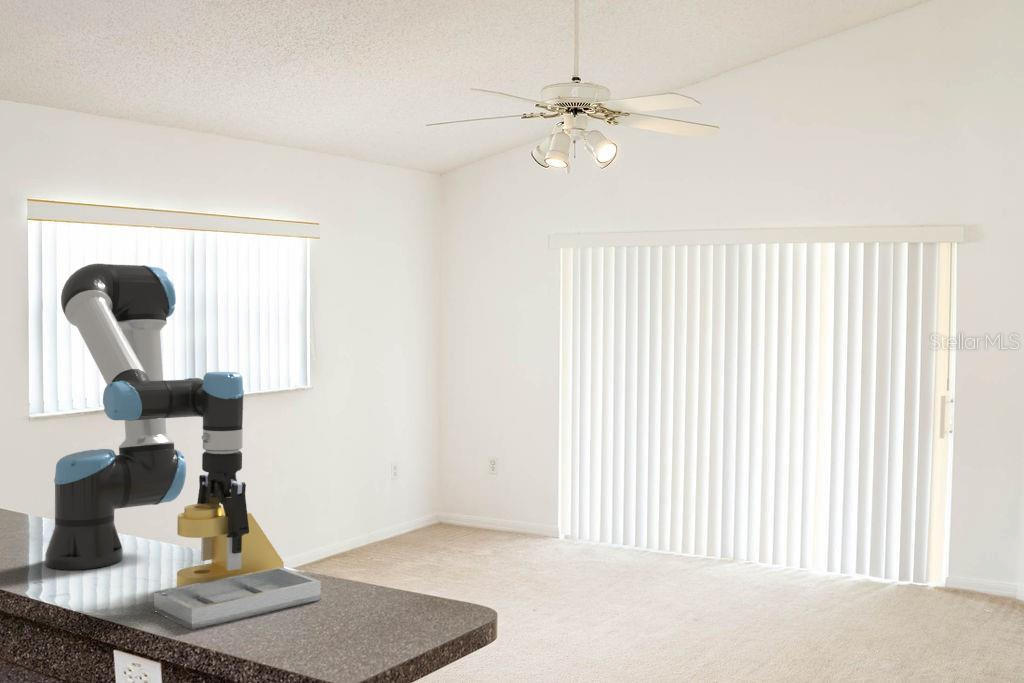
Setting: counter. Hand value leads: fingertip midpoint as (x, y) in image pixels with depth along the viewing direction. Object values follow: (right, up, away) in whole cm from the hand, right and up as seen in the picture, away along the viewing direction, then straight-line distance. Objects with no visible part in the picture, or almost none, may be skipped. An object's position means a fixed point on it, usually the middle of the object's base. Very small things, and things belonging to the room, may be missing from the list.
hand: (220, 564), depth 189 cm
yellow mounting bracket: (+1, -4, +1) cm, 5 cm away
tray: (+7, -5, -13) cm, 15 cm away
